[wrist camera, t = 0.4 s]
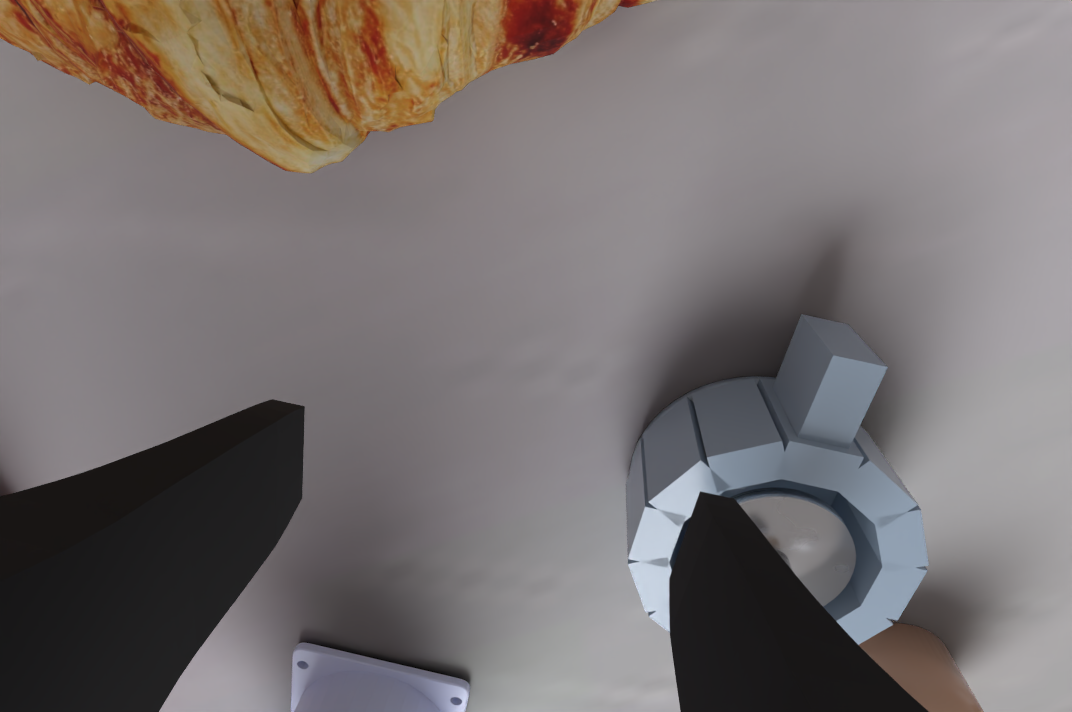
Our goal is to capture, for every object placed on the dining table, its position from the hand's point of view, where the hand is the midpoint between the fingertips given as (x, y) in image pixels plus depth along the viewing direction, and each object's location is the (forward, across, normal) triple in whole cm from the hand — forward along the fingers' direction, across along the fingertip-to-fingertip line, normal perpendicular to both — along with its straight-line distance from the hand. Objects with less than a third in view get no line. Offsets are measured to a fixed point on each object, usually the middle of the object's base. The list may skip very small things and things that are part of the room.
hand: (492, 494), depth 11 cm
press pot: (+10, -8, +5) cm, 14 cm away
